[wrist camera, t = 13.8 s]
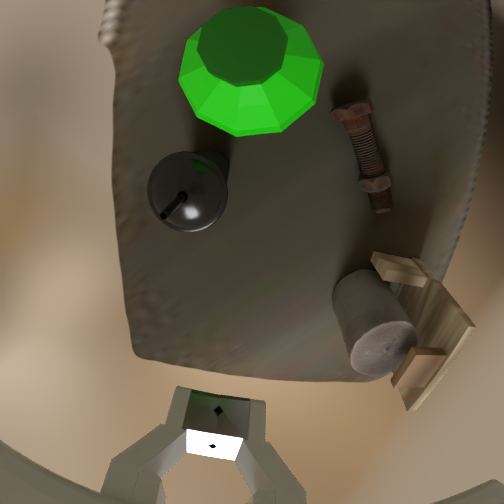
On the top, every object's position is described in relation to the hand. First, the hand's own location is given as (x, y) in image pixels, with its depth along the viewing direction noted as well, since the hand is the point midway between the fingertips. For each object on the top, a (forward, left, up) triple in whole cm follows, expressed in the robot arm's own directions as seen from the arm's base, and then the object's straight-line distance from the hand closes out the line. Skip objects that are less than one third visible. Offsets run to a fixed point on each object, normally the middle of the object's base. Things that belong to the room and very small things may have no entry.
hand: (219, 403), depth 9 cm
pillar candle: (+6, +23, -33) cm, 41 cm away
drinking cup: (+1, -6, -33) cm, 34 cm away
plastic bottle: (-11, -6, -33) cm, 36 cm away
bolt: (-11, +10, -34) cm, 37 cm away
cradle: (+5, +27, -33) cm, 43 cm away
